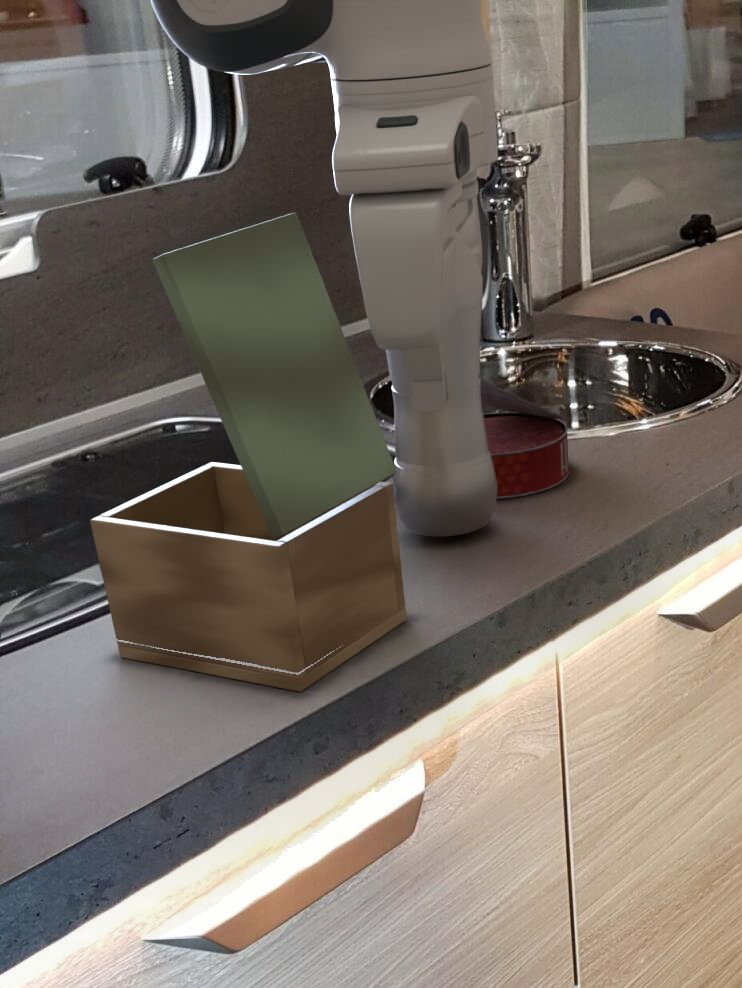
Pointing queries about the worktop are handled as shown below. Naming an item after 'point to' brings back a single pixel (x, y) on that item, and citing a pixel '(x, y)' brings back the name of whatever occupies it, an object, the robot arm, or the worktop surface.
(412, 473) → the plastic bottle
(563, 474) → the canned food
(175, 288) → the lid
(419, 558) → the worktop surface
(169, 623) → the chest
